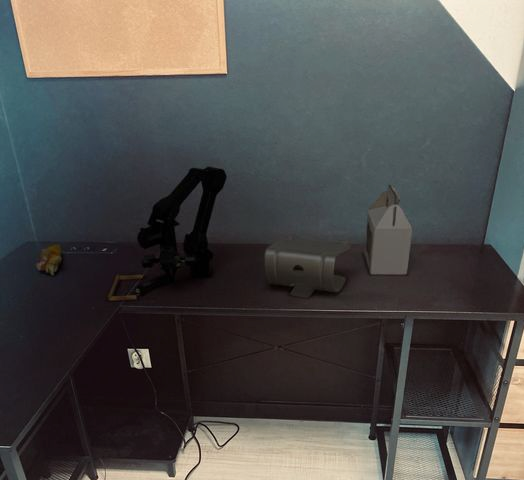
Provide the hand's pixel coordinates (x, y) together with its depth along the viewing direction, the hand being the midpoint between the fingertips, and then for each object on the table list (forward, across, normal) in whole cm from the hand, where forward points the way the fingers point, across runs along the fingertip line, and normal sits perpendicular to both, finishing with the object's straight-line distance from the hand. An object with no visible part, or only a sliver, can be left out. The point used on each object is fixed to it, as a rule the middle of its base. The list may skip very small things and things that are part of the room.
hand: (172, 282), depth 189 cm
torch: (+2, -48, +26) cm, 55 cm away
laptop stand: (+2, +48, -4) cm, 48 cm away
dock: (+2, -16, 0) cm, 16 cm away
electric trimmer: (+2, -7, 0) cm, 7 cm away
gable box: (+1, +80, +12) cm, 81 cm away
